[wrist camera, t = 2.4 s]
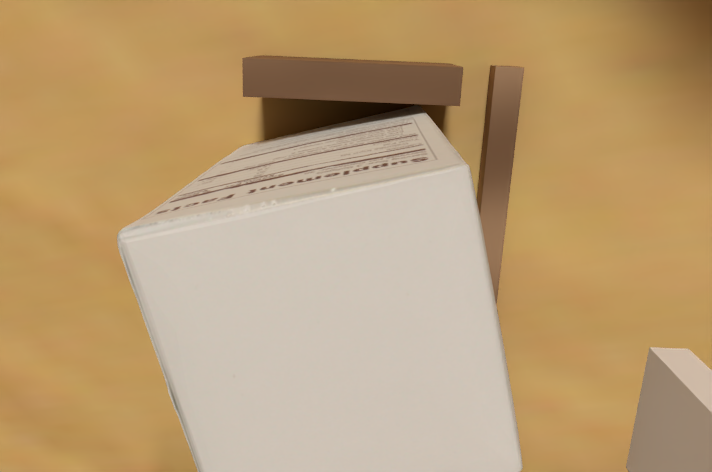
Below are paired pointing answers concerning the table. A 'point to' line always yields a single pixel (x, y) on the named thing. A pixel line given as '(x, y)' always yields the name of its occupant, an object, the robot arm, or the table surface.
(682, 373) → the robot arm
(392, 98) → the notch rail
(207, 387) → the supplement box
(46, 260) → the table surface
